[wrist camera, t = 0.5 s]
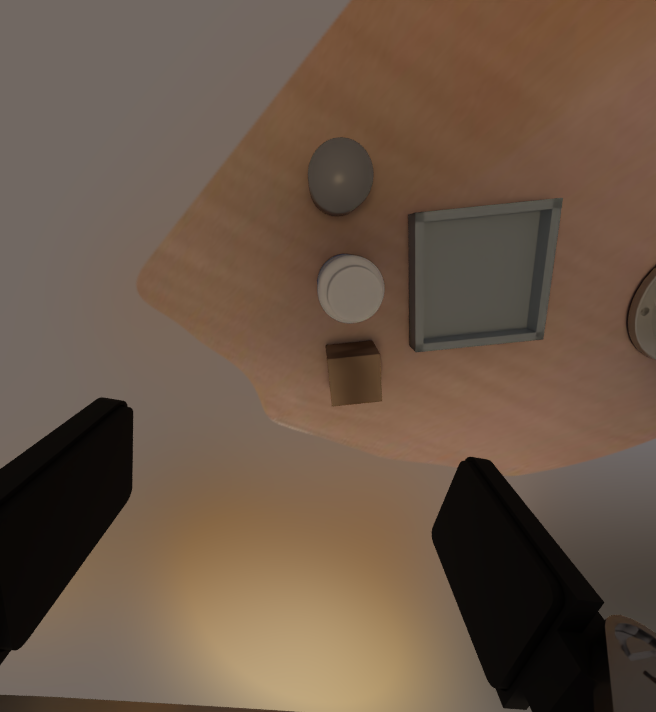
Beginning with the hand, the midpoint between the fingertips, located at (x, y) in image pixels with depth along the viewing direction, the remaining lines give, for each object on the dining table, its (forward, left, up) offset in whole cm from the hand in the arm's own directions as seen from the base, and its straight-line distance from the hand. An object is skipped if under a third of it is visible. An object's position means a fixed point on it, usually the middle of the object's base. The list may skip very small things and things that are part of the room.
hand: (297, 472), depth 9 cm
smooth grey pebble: (-4, -11, -25) cm, 27 cm away
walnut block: (-4, +7, -25) cm, 26 cm away
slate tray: (-17, -1, -25) cm, 30 cm away
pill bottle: (-4, -2, -25) cm, 26 cm away
